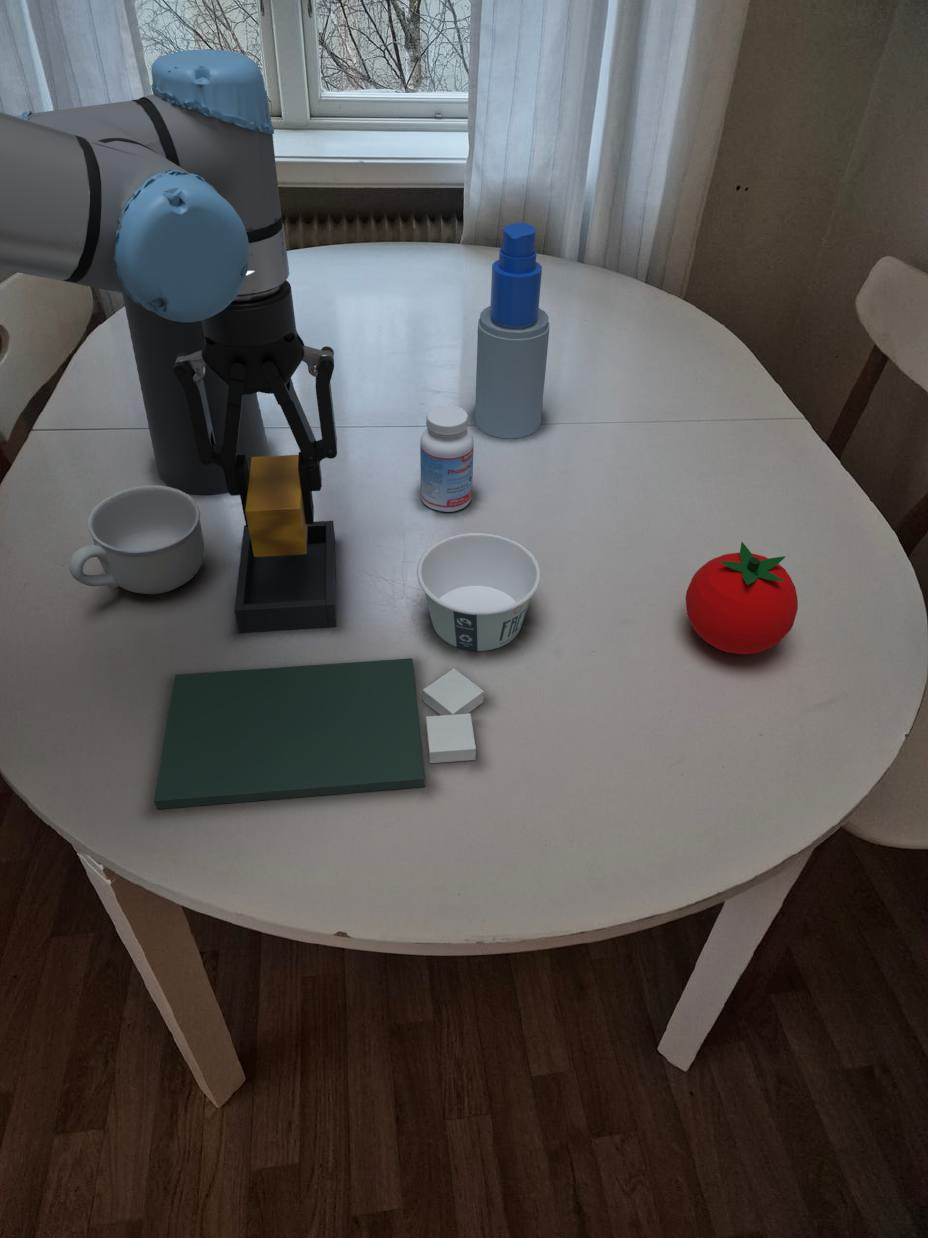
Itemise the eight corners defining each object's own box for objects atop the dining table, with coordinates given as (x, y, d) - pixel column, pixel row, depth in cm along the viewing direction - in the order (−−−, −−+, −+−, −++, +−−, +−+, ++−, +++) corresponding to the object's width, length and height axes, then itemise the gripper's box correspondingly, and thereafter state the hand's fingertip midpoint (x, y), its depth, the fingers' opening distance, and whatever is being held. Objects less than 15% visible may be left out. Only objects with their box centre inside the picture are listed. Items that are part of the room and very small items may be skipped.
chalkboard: (157, 809, 71) (153, 801, 70) (178, 683, 81) (175, 674, 80) (424, 787, 73) (424, 778, 72) (412, 666, 83) (412, 658, 82)
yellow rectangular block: (253, 557, 82) (244, 511, 78) (259, 501, 89) (251, 456, 85) (306, 554, 83) (300, 508, 79) (308, 499, 89) (302, 454, 85)
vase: (275, 432, 112) (240, 197, 92) (264, 493, 103) (222, 245, 83) (168, 434, 112) (110, 197, 92) (147, 496, 102) (77, 246, 82)
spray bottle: (494, 397, 120) (504, 209, 103) (552, 415, 117) (571, 224, 100) (462, 426, 115) (466, 232, 97) (521, 445, 111) (536, 248, 94)
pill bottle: (456, 519, 100) (457, 435, 92) (411, 503, 102) (409, 419, 94) (480, 493, 104) (484, 410, 96) (437, 478, 106) (437, 396, 98)
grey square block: (429, 763, 74) (429, 752, 73) (425, 727, 77) (425, 716, 76) (475, 760, 75) (476, 748, 74) (470, 724, 78) (470, 713, 77)
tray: (239, 633, 86) (234, 610, 83) (248, 547, 95) (243, 524, 93) (336, 626, 86) (334, 604, 84) (335, 542, 96) (333, 520, 94)
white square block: (452, 725, 78) (452, 714, 76) (422, 701, 80) (422, 689, 78) (483, 702, 80) (484, 690, 79) (453, 679, 82) (453, 667, 81)
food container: (440, 570, 93) (440, 521, 89) (547, 594, 91) (553, 546, 86) (400, 645, 85) (398, 595, 80) (518, 674, 82) (523, 624, 78)
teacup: (184, 531, 97) (168, 471, 92) (231, 580, 91) (217, 520, 86) (62, 581, 91) (37, 520, 85) (104, 638, 85) (80, 577, 79)
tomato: (658, 614, 89) (676, 537, 82) (745, 593, 91) (770, 517, 84) (711, 686, 82) (736, 609, 75) (804, 661, 84) (836, 584, 77)
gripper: (118, 306, 65) (182, 546, 81) (357, 299, 67) (373, 535, 83) (133, 267, 70) (191, 499, 87) (355, 261, 72) (370, 490, 88)
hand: (280, 516), depth 85 cm, fingers closed on yellow rectangular block, 5 cm apart
